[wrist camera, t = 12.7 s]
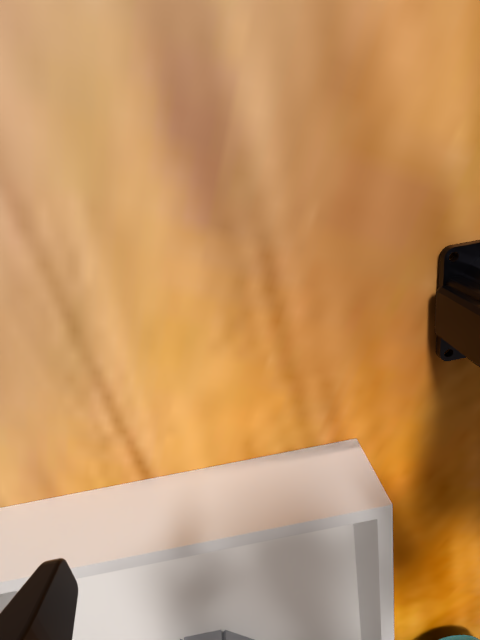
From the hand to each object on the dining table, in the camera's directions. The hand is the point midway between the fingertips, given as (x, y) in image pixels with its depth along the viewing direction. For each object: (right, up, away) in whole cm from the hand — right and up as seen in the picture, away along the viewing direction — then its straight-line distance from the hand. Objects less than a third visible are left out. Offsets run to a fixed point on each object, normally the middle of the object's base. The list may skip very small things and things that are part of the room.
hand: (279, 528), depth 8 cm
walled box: (-4, -16, +21) cm, 26 cm away
